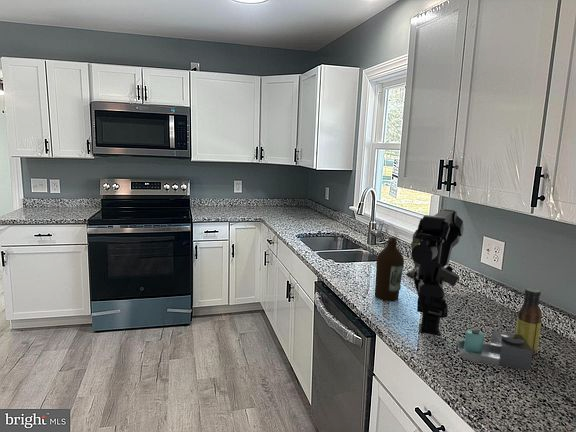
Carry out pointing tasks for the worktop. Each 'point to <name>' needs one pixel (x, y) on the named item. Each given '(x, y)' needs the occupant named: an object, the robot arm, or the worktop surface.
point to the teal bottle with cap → (474, 341)
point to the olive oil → (389, 272)
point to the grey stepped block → (501, 351)
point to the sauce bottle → (530, 319)
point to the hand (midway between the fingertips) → (423, 307)
